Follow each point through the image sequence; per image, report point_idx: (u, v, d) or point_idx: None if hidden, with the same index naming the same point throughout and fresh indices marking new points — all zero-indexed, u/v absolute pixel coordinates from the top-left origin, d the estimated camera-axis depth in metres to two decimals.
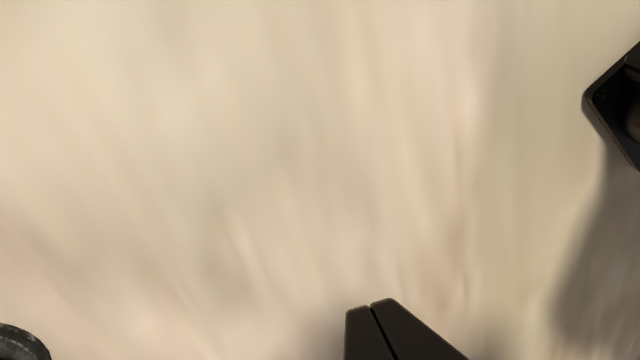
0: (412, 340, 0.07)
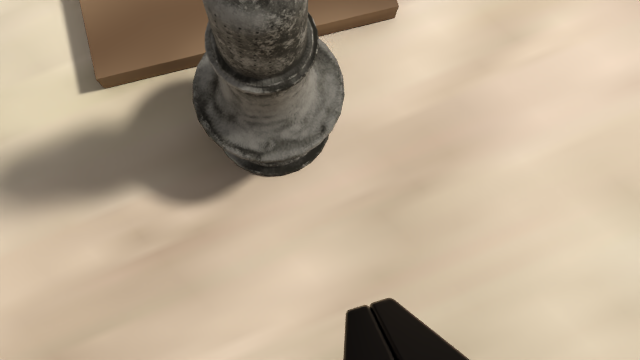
0: (412, 340, 0.07)
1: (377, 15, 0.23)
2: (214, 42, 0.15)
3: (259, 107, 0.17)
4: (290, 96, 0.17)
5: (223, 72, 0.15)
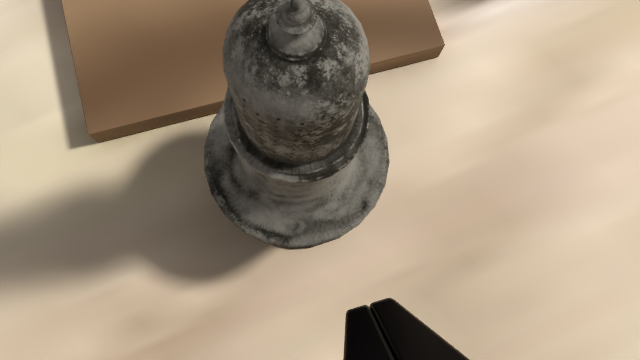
0: (412, 340, 0.07)
1: (419, 55, 0.20)
2: (236, 115, 0.12)
3: (289, 188, 0.14)
4: None
5: (248, 155, 0.12)
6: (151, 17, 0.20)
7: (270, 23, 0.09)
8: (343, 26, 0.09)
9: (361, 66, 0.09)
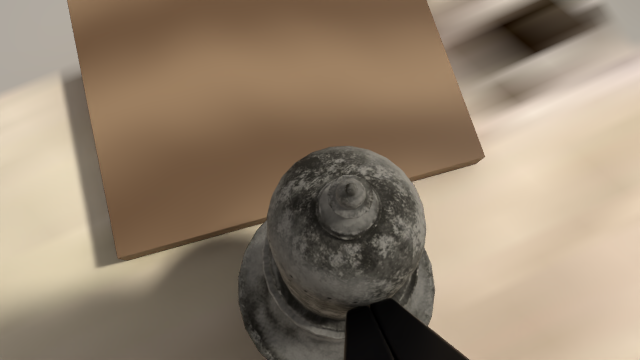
0: (412, 340, 0.07)
1: (457, 166, 0.19)
2: (276, 265, 0.11)
3: None
4: None
5: (289, 308, 0.11)
6: (181, 129, 0.19)
7: (320, 198, 0.08)
8: (398, 196, 0.08)
9: (418, 237, 0.08)
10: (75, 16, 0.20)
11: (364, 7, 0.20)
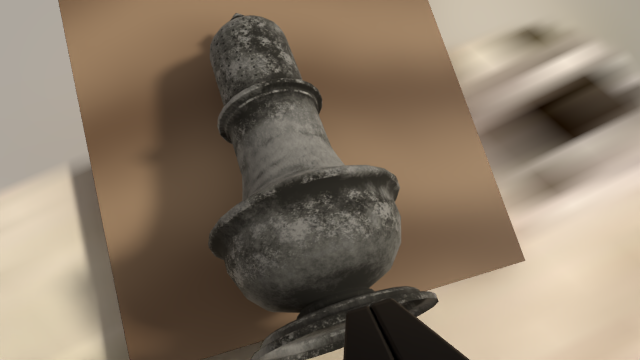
0: (412, 340, 0.07)
1: None
2: None
3: (263, 152, 0.14)
4: (297, 130, 0.15)
5: None
6: (200, 233, 0.18)
7: None
8: None
9: (270, 20, 0.17)
10: (85, 106, 0.18)
11: (394, 94, 0.19)
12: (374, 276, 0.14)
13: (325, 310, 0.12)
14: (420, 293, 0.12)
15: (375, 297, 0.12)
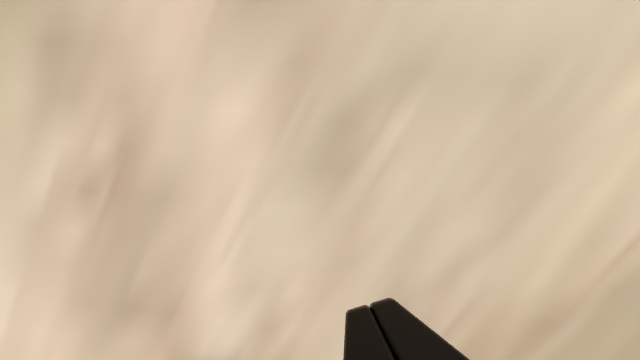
0: (412, 340, 0.07)
1: None
2: None
3: None
4: None
5: None
6: None
7: None
8: None
9: None
10: None
11: None
12: None
13: None
14: None
15: None
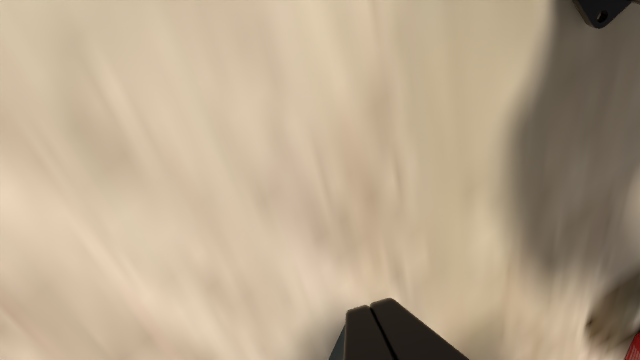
0: (412, 340, 0.07)
1: None
2: None
3: None
4: None
5: None
6: None
7: None
8: None
9: None
10: None
11: None
12: None
13: None
14: None
15: None
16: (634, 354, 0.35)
